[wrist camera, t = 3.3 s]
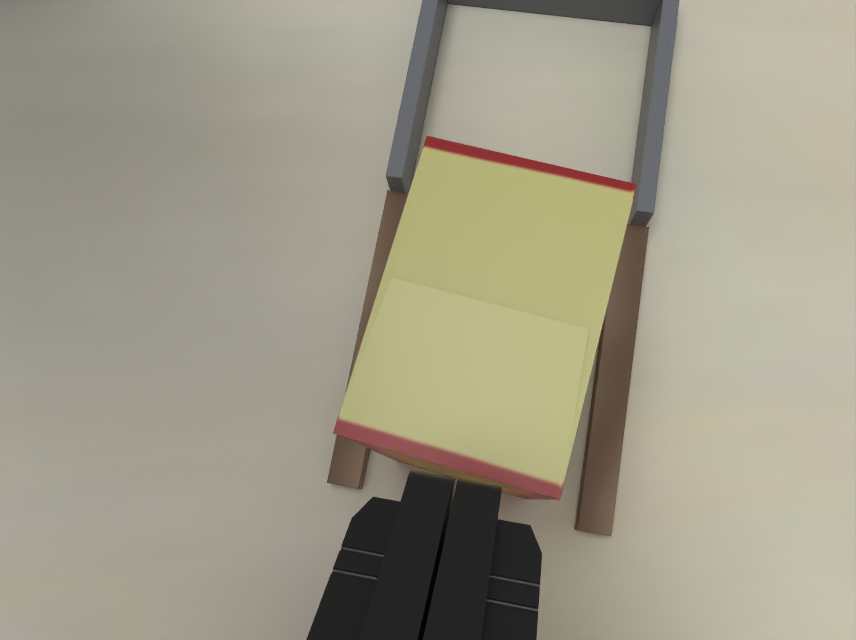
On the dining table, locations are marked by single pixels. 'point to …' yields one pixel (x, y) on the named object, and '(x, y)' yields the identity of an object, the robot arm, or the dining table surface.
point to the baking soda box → (488, 318)
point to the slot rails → (608, 380)
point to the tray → (624, 3)
